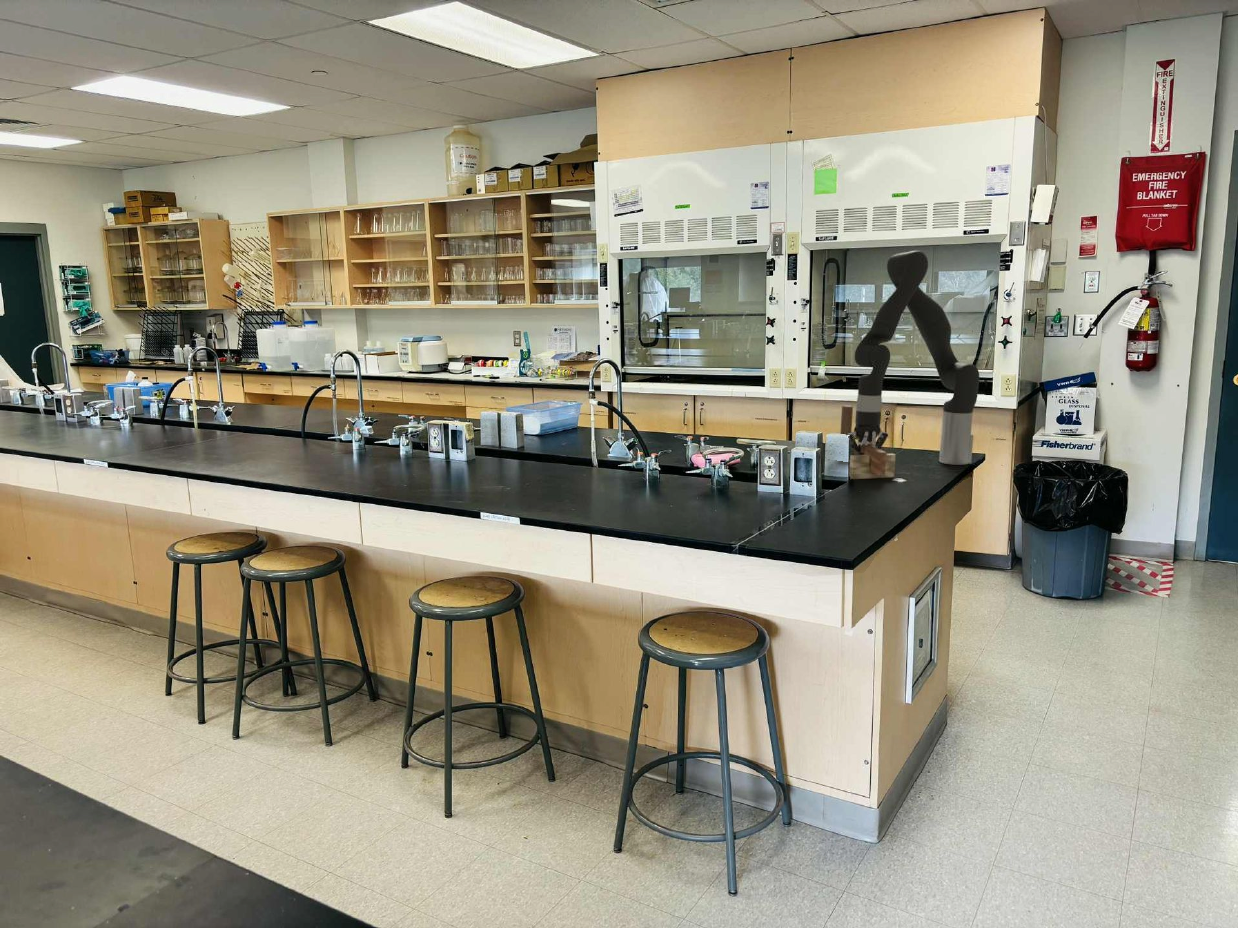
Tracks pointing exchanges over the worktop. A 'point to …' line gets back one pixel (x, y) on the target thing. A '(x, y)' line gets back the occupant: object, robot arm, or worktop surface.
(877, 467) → the cherry plate
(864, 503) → the worktop surface
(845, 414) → the wooden block
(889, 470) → the maple plate
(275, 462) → the worktop surface
